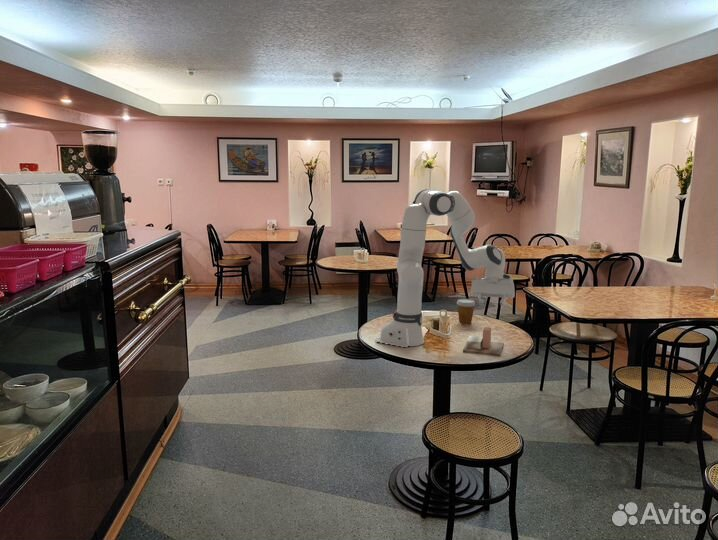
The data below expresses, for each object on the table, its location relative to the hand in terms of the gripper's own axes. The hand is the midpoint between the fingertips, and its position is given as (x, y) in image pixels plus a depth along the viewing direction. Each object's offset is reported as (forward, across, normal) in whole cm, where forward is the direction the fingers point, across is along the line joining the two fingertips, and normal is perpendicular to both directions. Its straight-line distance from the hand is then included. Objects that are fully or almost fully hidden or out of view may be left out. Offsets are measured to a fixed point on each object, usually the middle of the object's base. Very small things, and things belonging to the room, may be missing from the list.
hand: (491, 303), depth 239 cm
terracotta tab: (+21, 0, +2) cm, 21 cm away
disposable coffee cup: (-5, -15, +30) cm, 34 cm away
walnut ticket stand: (+22, -1, +3) cm, 22 cm away
